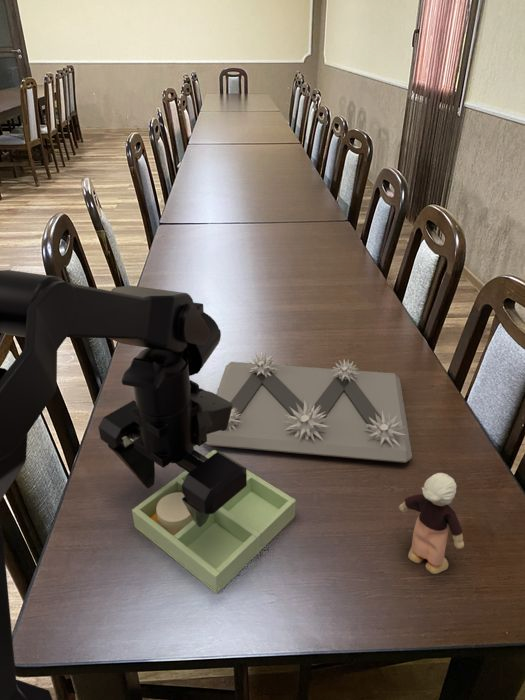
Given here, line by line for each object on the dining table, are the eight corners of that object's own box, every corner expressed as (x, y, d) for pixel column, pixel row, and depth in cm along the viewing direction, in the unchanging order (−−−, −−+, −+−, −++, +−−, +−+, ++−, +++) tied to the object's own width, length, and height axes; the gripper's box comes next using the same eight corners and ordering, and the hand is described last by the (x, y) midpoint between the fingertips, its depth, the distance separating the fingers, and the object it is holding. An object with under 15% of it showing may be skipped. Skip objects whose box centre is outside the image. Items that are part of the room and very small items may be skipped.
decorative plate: (397, 382, 93) (403, 347, 89) (411, 470, 75) (419, 430, 71) (227, 369, 96) (226, 334, 92) (200, 450, 78) (197, 411, 74)
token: (175, 541, 63) (174, 528, 62) (150, 521, 66) (148, 508, 65) (203, 518, 66) (202, 504, 65) (178, 500, 69) (176, 486, 68)
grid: (216, 594, 58) (215, 576, 57) (134, 526, 66) (131, 509, 64) (295, 516, 68) (296, 499, 66) (214, 465, 75) (213, 449, 74)
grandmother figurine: (460, 560, 62) (485, 480, 56) (451, 585, 59) (476, 504, 53) (397, 531, 66) (413, 453, 59) (385, 553, 63) (401, 474, 56)
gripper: (280, 399, 57) (277, 504, 65) (163, 341, 67) (173, 437, 75) (205, 455, 49) (212, 564, 57) (86, 379, 60) (106, 481, 68)
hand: (175, 504), depth 65 cm, fingers open, 9 cm apart
